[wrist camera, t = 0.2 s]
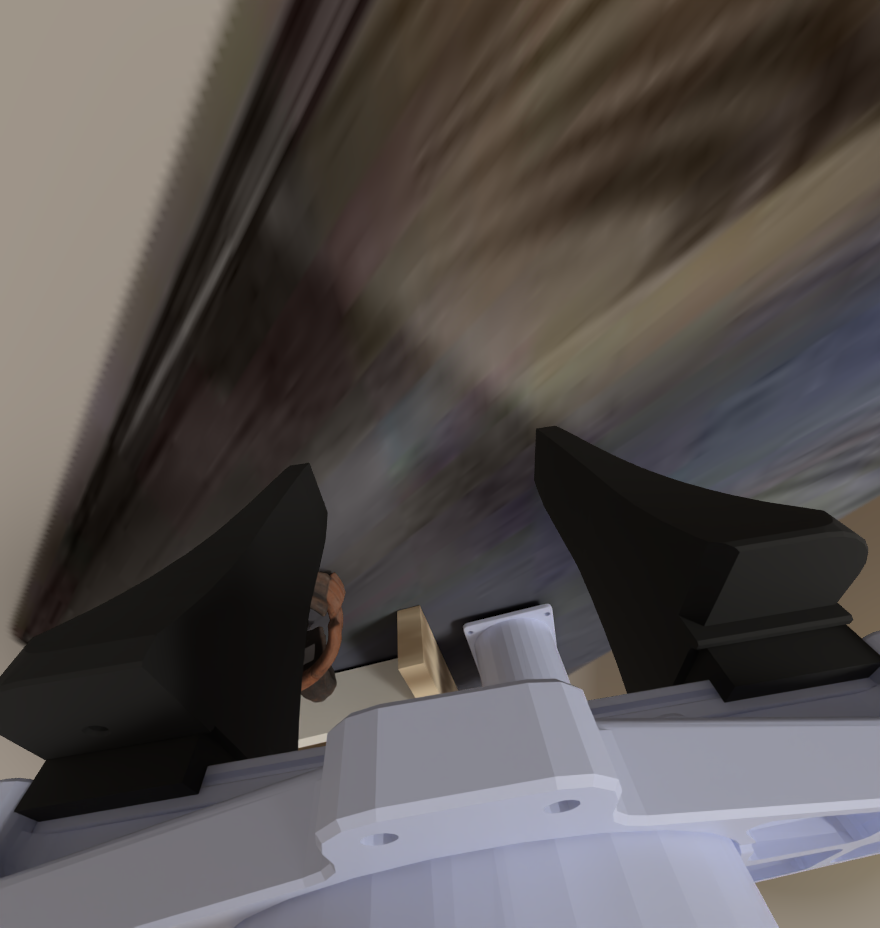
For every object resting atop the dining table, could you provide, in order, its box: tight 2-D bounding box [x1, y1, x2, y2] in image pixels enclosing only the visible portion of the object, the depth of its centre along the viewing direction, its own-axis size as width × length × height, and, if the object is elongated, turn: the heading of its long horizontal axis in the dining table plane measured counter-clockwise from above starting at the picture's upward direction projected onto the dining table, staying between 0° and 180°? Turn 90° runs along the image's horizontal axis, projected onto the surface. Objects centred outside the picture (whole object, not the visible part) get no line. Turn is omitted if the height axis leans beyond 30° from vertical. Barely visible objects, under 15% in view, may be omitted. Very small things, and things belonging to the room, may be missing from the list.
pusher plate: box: [298, 658, 415, 748], centre depth 35 cm, size 2×17×5 cm, turn 104°
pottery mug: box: [301, 572, 345, 703], centre depth 28 cm, size 12×9×8 cm
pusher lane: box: [298, 605, 458, 750], centre depth 36 cm, size 18×22×5 cm
